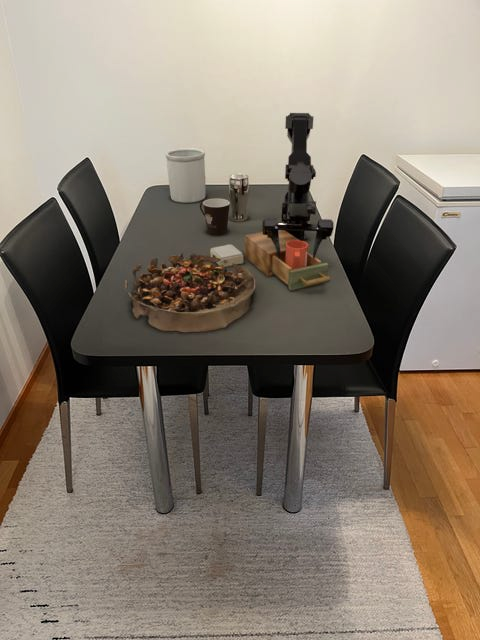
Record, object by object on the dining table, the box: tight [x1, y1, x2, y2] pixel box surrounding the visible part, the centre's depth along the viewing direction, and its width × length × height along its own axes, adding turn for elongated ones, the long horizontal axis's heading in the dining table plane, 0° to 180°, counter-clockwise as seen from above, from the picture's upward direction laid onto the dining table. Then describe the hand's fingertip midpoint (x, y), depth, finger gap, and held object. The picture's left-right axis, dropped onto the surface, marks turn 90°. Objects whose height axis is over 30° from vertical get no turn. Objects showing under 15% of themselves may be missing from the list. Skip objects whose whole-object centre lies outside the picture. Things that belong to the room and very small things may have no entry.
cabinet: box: [244, 230, 298, 277], centre depth 145 cm, size 14×12×7 cm
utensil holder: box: [165, 147, 207, 204], centre depth 193 cm, size 15×15×18 cm
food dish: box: [124, 252, 257, 333], centre depth 128 cm, size 35×33×8 cm
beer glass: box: [228, 172, 250, 222], centre depth 174 cm, size 7×7×15 cm
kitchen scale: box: [209, 243, 244, 268], centre depth 147 cm, size 7×8×3 cm
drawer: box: [270, 252, 331, 291], centre depth 134 cm, size 18×11×5 cm, turn 26°
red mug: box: [285, 240, 309, 270], centre depth 134 cm, size 8×6×8 cm
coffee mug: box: [199, 198, 231, 237], centre depth 165 cm, size 12×9×10 cm
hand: (296, 257), depth 133 cm, fingers open, 9 cm apart
